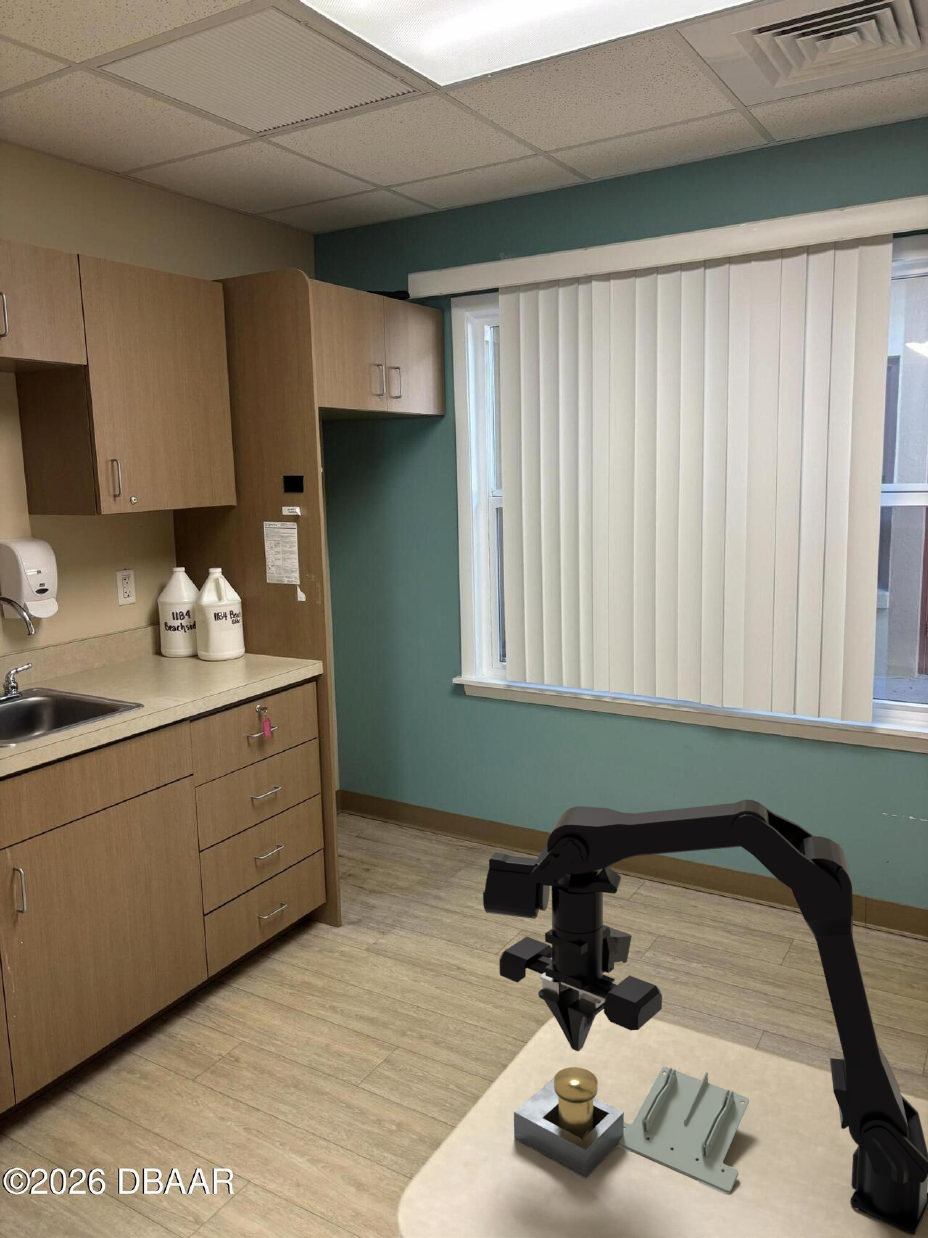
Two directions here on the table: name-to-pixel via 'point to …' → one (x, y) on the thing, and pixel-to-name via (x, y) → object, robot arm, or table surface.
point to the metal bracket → (688, 1127)
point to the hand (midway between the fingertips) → (577, 1049)
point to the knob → (576, 1100)
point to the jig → (544, 1135)
